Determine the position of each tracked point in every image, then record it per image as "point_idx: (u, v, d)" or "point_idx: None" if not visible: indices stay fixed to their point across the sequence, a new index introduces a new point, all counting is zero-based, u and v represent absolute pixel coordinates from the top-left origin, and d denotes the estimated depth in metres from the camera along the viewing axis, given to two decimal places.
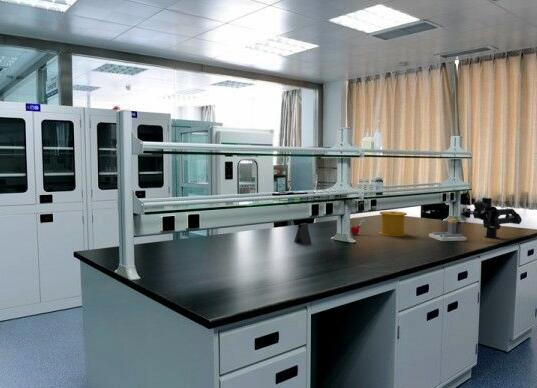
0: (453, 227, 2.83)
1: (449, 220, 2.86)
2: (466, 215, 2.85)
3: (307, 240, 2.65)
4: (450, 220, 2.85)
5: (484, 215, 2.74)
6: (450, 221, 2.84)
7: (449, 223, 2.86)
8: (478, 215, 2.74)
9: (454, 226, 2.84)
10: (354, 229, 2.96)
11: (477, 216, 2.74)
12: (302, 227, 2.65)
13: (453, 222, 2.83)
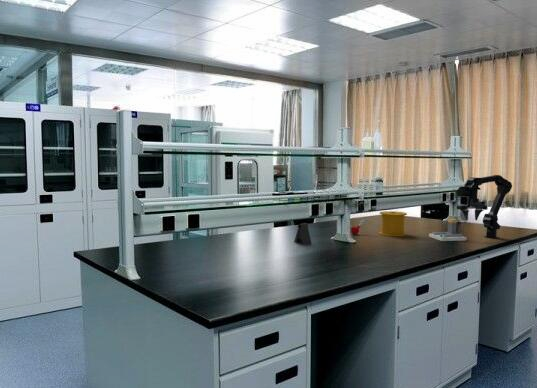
0: (453, 227, 2.83)
1: (449, 220, 2.86)
2: None
3: (307, 240, 2.65)
4: (450, 220, 2.85)
5: None
6: (450, 221, 2.84)
7: (449, 223, 2.86)
8: None
9: (454, 226, 2.84)
10: (354, 229, 2.96)
11: None
12: (302, 227, 2.65)
13: (453, 222, 2.83)
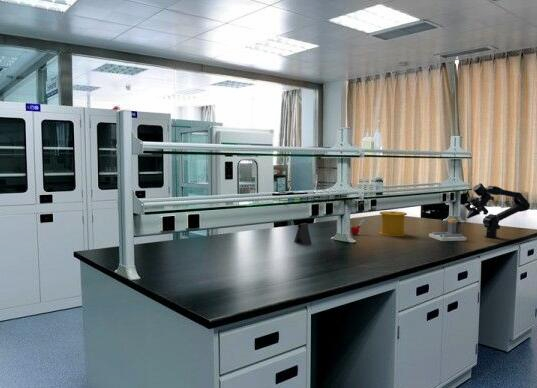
0: (453, 227, 2.83)
1: (449, 220, 2.86)
2: None
3: (307, 240, 2.65)
4: (450, 220, 2.85)
5: (476, 211, 2.85)
6: (450, 221, 2.84)
7: (449, 223, 2.86)
8: (470, 215, 2.86)
9: (454, 226, 2.84)
10: (354, 229, 2.96)
11: (470, 216, 2.86)
12: (302, 227, 2.65)
13: (453, 222, 2.83)
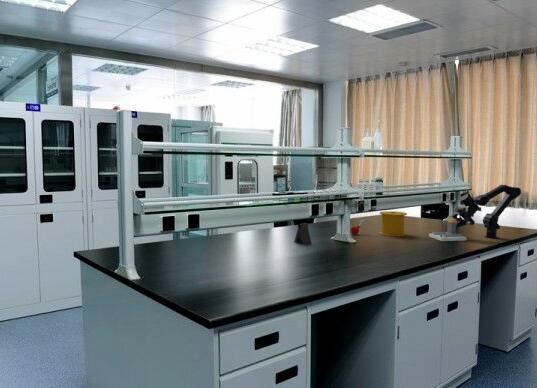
0: (453, 227, 2.83)
1: (449, 220, 2.86)
2: None
3: (307, 240, 2.65)
4: (450, 220, 2.85)
5: (462, 221, 2.84)
6: (450, 221, 2.84)
7: (449, 223, 2.86)
8: (457, 225, 2.85)
9: (454, 226, 2.83)
10: (354, 229, 2.96)
11: (457, 226, 2.86)
12: (302, 227, 2.65)
13: (453, 222, 2.83)
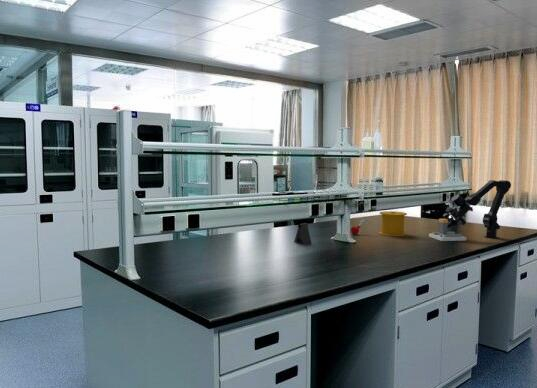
0: (444, 227, 2.82)
1: (440, 220, 2.85)
2: None
3: (307, 240, 2.65)
4: (441, 220, 2.84)
5: (454, 221, 2.83)
6: (441, 221, 2.83)
7: (441, 223, 2.85)
8: (449, 225, 2.84)
9: (445, 226, 2.83)
10: (354, 229, 2.96)
11: (448, 226, 2.85)
12: (302, 227, 2.65)
13: (444, 222, 2.82)
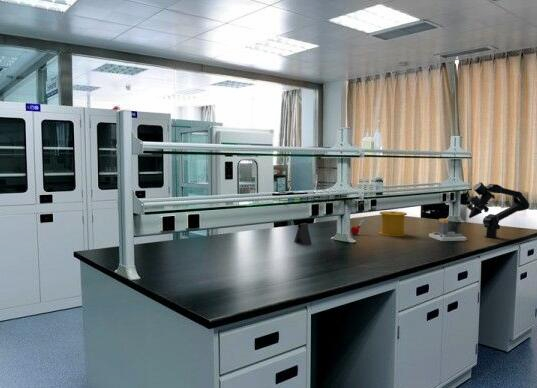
0: (444, 227, 2.83)
1: (440, 220, 2.85)
2: None
3: (307, 240, 2.65)
4: (441, 220, 2.84)
5: (477, 210, 2.85)
6: (442, 221, 2.83)
7: (441, 223, 2.85)
8: (472, 214, 2.86)
9: (445, 226, 2.83)
10: (354, 229, 2.96)
11: (472, 215, 2.86)
12: (302, 227, 2.65)
13: (444, 222, 2.82)
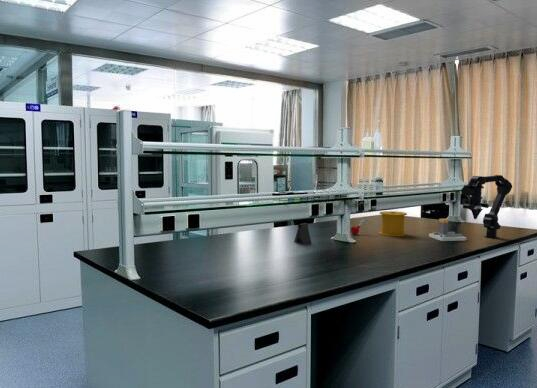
0: (444, 227, 2.83)
1: (440, 220, 2.85)
2: None
3: (307, 240, 2.65)
4: (441, 220, 2.84)
5: None
6: (442, 221, 2.83)
7: (441, 223, 2.85)
8: (473, 215, 2.84)
9: (445, 226, 2.83)
10: (354, 229, 2.96)
11: (474, 216, 2.84)
12: (302, 227, 2.65)
13: (444, 222, 2.82)
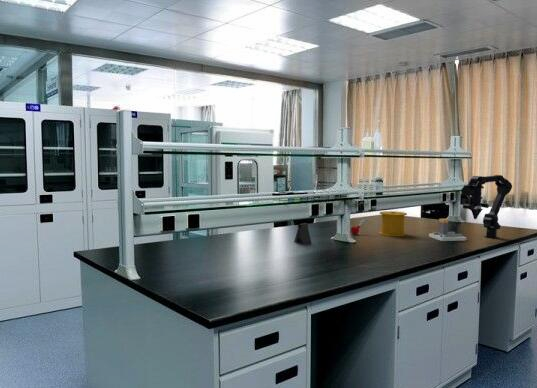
0: (444, 227, 2.83)
1: (440, 220, 2.85)
2: None
3: (307, 240, 2.65)
4: (441, 220, 2.84)
5: None
6: (442, 221, 2.83)
7: (441, 223, 2.85)
8: (473, 215, 2.84)
9: (445, 226, 2.83)
10: (354, 229, 2.96)
11: (474, 216, 2.84)
12: (302, 227, 2.65)
13: (444, 222, 2.82)
